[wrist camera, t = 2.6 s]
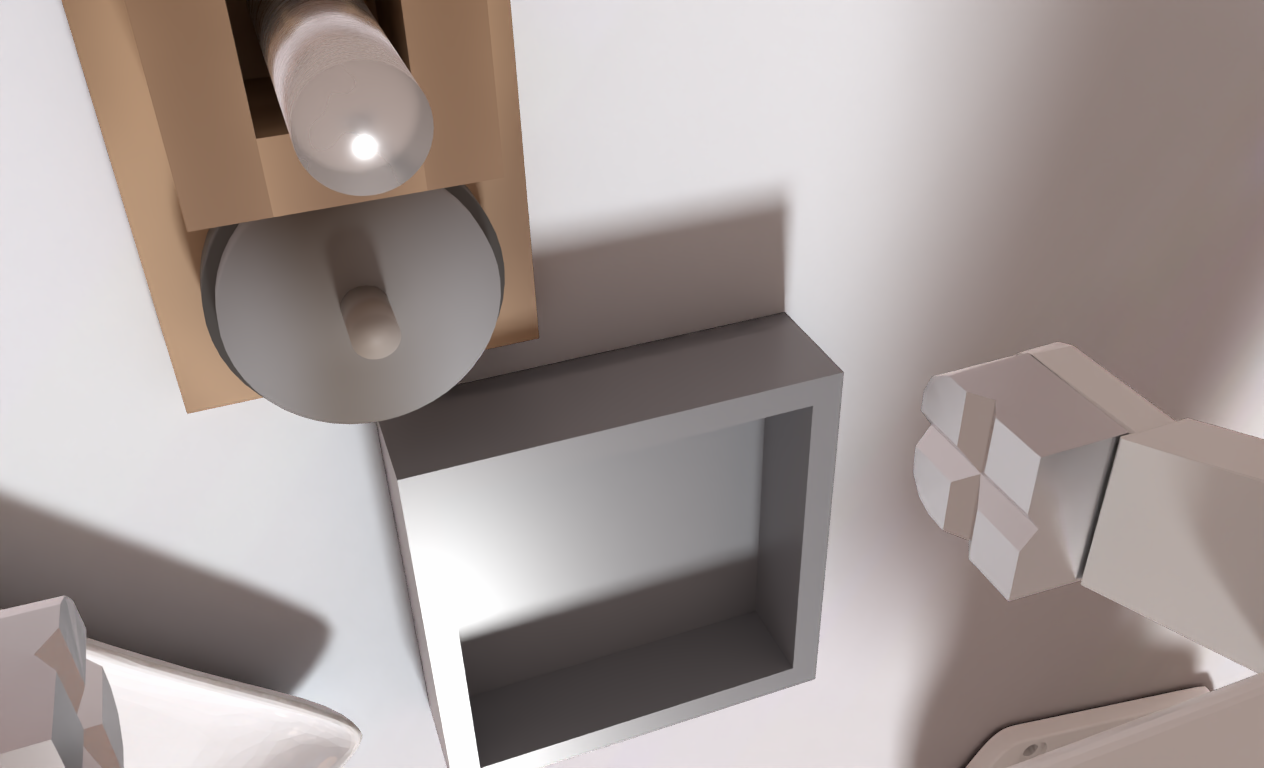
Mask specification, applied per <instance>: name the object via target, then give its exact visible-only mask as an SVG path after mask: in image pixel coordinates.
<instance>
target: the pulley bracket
mask: <svg viewBox="0 0 1264 768" xmlns="http://www.w3.org/2000/svg"><path fill="white" fill-rule="evenodd" d="M363 1H364V3H365V4H366V6H367V7H368V9H369V10H370V12H371V13H372V15H373V16H374V18H375V19H376V21H377V23H378V24H379V26H380V27H381V29H382V30H383V32H384V33H385V35H386V36H387V38H388V39H389V41H390V42H391V44H392V45H393V47H394V48H395V50H396V52H397V53H398V55H399V56H400V58H401V59H402V61H403V62H404V64H405V65H406V67H407V68H408V70H409V71H410V73H411V74H412V76H413V77H414V79H415V81H416V82H417V84H418V85H419V87H420V88H421V90H422V91H423V93H424V94H425V96H426V98H427V100H428V102H429V105H430V108H431V111H432V116H433V125H434V131H433V140H432V144H431V148H430V150H429V153H428V155H427V157H426V159H425V161H424V163H423V164H422V166H421V167H420V169H419V170H418V171H417V172H416V173H415V174H414V175H413V176H412V177H411V178H410V179H409V180H407V181H406V182H405V183H403V184H402V185H400V186H398V187H396V188H394V189H392V190H390V191H387V192H385V193H381V194H377V195H370V196H354V195H347V194H343V193H340V192H337V191H334V190H332V189H330V188H328V187H326V186H324V185H322V184H321V183H320V182H318V181H317V180H315V179H314V178H313V177H312V176H311V175H310V174H309V173H308V172H307V170H306V169H305V168H304V167H303V165H302V164H301V162H300V160H299V159H298V157H297V154H296V152H295V150H294V147H293V144H292V141H291V138H290V135H289V132H288V129H287V126H286V123H285V120H284V116H283V113H282V110H281V107H280V104H279V101H278V98H277V95H276V92H275V89H274V86H273V83H272V80H271V77H270V74H269V71H268V68H267V65H266V62H265V59H264V56H263V53H262V50H261V47H260V44H259V41H258V38H257V35H256V32H255V28H254V25H253V22H252V19H251V16H250V13H249V10H248V7H247V1H246V0H62V3H63V7H64V10H65V13H66V17H67V20H68V23H69V26H70V30H71V33H72V36H73V40H74V43H75V46H76V49H77V53H78V56H79V59H80V63H81V66H82V69H83V73H84V76H85V79H86V82H87V86H88V89H89V92H90V96H91V99H92V102H93V105H94V109H95V112H96V115H97V119H98V122H99V125H100V128H101V132H102V135H103V138H104V142H105V145H106V148H107V152H108V155H109V158H110V161H111V165H112V168H113V171H114V175H115V178H116V181H117V184H118V188H119V191H120V194H121V198H122V201H123V204H124V207H125V211H126V214H127V217H128V221H129V224H130V227H131V230H132V234H133V237H134V240H135V244H136V247H137V250H138V254H139V257H140V260H141V263H142V267H143V270H144V273H145V277H146V280H147V283H148V286H149V290H150V293H151V296H152V300H153V303H154V306H155V309H156V313H157V316H158V319H159V323H160V326H161V329H162V333H163V336H164V339H165V342H166V346H167V349H168V352H169V356H170V359H171V362H172V365H173V369H174V372H175V375H176V379H177V382H178V385H179V388H180V392H181V395H182V398H183V402H184V405H185V408H186V411H187V414H188V413H193V412H198V411H202V410H207V409H212V408H216V407H221V406H226V405H230V404H235V403H240V402H244V401H249V400H254V399H258V398H263V397H264V398H265V399H267V400H268V401H270V402H272V403H274V404H275V405H277V406H279V407H281V408H282V409H284V410H287V411H289V412H291V413H294V414H296V415H299V416H302V417H305V418H309V419H313V420H316V421H322V422H329V423H339V424H360V423H371V422H377V421H383V420H388V419H391V418H395V417H398V416H402V415H405V414H407V413H410V412H412V411H415V410H417V409H419V408H421V407H423V406H425V405H427V404H429V403H431V402H433V401H434V400H436V399H437V398H439V397H440V396H442V395H443V394H445V393H446V392H448V391H449V390H450V389H451V388H452V387H453V386H455V385H456V384H457V383H458V382H459V381H461V379H462V378H463V377H464V376H465V375H466V374H467V373H468V372H469V371H470V370H471V369H472V367H473V366H474V365H475V363H476V362H477V361H478V359H479V358H480V357H481V355H482V353H483V352H484V350H487V349H491V348H496V347H501V346H505V345H510V344H514V343H519V342H524V341H528V340H533V339H538V338H539V331H538V319H537V308H536V296H535V284H534V273H533V261H532V249H531V238H530V226H529V214H528V203H527V191H526V179H525V168H524V156H523V144H522V133H521V121H520V109H519V98H518V86H517V74H516V63H515V51H514V39H513V28H512V16H511V4H510V0H363Z"/></svg>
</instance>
